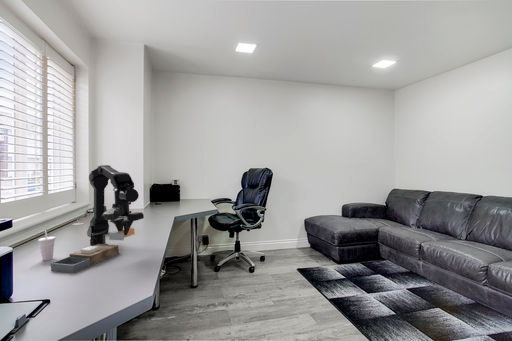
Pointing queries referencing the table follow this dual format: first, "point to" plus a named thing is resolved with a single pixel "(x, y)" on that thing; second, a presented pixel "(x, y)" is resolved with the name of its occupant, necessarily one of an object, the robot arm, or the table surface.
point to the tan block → (98, 253)
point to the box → (70, 264)
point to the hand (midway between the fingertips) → (123, 234)
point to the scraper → (120, 234)
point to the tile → (90, 249)
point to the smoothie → (47, 246)
